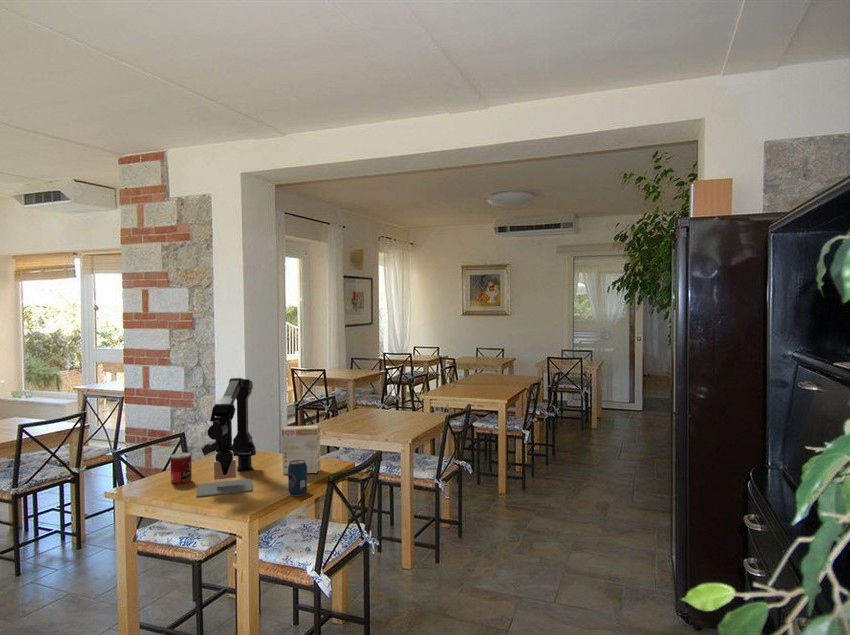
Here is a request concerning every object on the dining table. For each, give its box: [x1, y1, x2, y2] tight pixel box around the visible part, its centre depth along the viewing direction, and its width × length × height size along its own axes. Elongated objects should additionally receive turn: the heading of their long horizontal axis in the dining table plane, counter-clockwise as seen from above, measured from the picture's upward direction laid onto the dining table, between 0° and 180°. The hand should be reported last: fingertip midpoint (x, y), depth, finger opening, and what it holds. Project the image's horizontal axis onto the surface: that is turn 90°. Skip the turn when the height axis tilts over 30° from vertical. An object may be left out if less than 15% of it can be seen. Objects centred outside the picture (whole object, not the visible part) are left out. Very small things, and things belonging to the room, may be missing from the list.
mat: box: [195, 478, 254, 498], centre depth 219 cm, size 16×20×1 cm
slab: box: [213, 457, 237, 481], centre depth 221 cm, size 3×8×7 cm, turn 109°
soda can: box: [287, 460, 308, 497], centre depth 211 cm, size 7×7×12 cm
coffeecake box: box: [281, 425, 322, 475], centre depth 241 cm, size 15×7×20 cm, turn 89°
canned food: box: [170, 452, 193, 484], centre depth 230 cm, size 8×8×11 cm
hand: (224, 473), depth 221 cm, fingers closed on slab, 3 cm apart
